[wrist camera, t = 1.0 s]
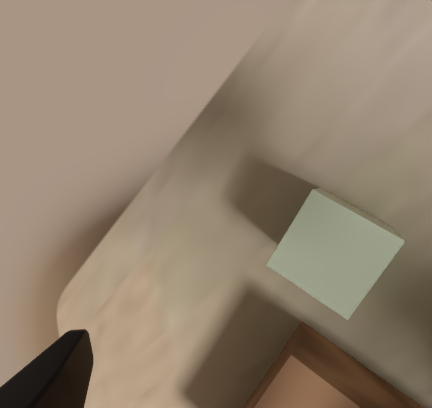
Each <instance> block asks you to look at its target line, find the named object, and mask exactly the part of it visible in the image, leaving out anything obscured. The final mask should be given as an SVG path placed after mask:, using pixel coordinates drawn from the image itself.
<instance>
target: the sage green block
mask: <svg viewBox="0 0 432 408" xmlns="http://www.w3.org/2000/svg"><path fill="white" fill-rule="evenodd" d="M404 243H405V240H404V239H403V238H402V237H401V236H400V235H399V234H398V233H397V231H396V230H395V229H394V228H393V227H391V226H389V225H387V224H385V223H384V222H382V221H380V220H378V219H376V218H374V217H373V216H371V215H369V214H367V213H365V212H364V211H362V210H360V209H358V208H356V207H354V206H353V205H351V204H349V203H347V202H345V201H344V200H342V199H340V198H338V197H336V196H334V195H333V194H331V193H329V192H327V191H325V190H324V189H322V188H317V189H312V191H311V192H310V194H309V196H308V197H307V199H306V201H305V202H304V204H303V206H302V207H301V209H300V211H299V212H298V214H297V215H296V217H295V219H294V220H293V222H292V224H291V225H290V227H289V229H288V230H287V232H286V233H285V235H284V237H283V238H282V240H281V242H280V243H279V245H278V247H277V248H276V250H275V252H274V253H273V255H272V256H271V258H270V260H269V261H268V263H267V266H268V267H269V268H271V269H272V270H274V271H275V272H277V273H278V274H280V275H281V276H283V277H284V278H286V279H287V280H289V281H290V282H292V283H293V284H295V285H296V286H298V287H299V288H301V289H302V290H304V291H305V292H307V293H308V294H309V295H311V296H312V297H314V298H315V299H317V300H318V301H320V302H321V303H323V304H324V305H326V306H327V307H329V308H330V309H332V310H333V311H335V312H336V313H338V314H339V315H341V316H342V317H344V318H345V319H347V320H348V319H349V318H350V316H351V315H352V314H353V312H354V311H355V310H356V308H357V307H358V305H359V304H360V303H361V301H362V300H363V299H364V297H365V296H366V294H367V293H368V292H369V290H370V289H371V288H372V286H373V285H374V284H375V282H376V281H377V279H378V278H379V277H380V275H381V274H382V273H383V271H384V270H385V269H386V267H387V266H388V264H389V263H390V262H391V260H392V259H393V258H394V256H395V255H396V253H397V252H398V251H399V249H400V248H401V247H402V245H403V244H404Z"/></svg>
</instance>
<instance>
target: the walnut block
mask: <svg viewBox="0 0 432 408" xmlns="http://www.w3.org/2000/svg"><path fill="white" fill-rule="evenodd" d="M243 408H422V407H421V406H420V405H418V404H417V403H415V402H414V401H413V400H411V399H410V398H408V397H407V396H406V395H404V394H403V393H401V392H400V391H399V390H397V389H396V388H394V387H393V386H392V385H390V384H389V383H387V382H386V381H385V380H383V379H382V378H380V377H379V376H378V375H376V374H375V373H373V372H372V371H371V370H369V369H368V368H366V367H365V366H363V365H362V364H361V363H359V362H358V361H356V360H355V359H354V358H352V357H351V356H349V355H348V354H347V353H345V352H344V351H342V350H341V349H340V348H338V347H337V346H335V345H334V344H333V343H331V342H330V341H328V340H327V339H326V338H324V337H323V336H321V335H320V334H319V333H317V332H316V331H314V330H313V329H312V328H310V327H309V326H307V325H306V324H305V323H303V322H302V323H301V324H300V326H299V327H298V329H297V330H296V332H295V333H294V335H293V336H292V338H291V339H290V340H289V342H288V343H287V345H286V346H285V348H284V349H283V351H282V352H281V354H280V355H279V356H278V358H277V359H276V361H275V362H274V364H273V365H272V367H271V368H270V370H269V371H268V372H267V374H266V375H265V377H264V378H263V380H262V381H261V383H260V384H259V386H258V387H257V388H256V390H255V391H254V393H253V394H252V396H251V397H250V399H249V400H248V402H247V403H246V404H245V406H244V407H243Z"/></svg>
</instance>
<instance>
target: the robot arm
mask: <svg viewBox="0 0 432 408" xmlns="http://www.w3.org/2000/svg"><path fill="white" fill-rule="evenodd" d="M92 368H93V352H92V347H91V342H90V337H89V333H88V331H87V330H85V329H80V330H70V331H68V332H66V333H65V334H64V335H63V336H61V337H60V338H59V339H58V340H57V341H55V342H54V343H53V344H52V345H51V346H50V347H48V348H47V349H46V350H45V351H43V352H42V353H41V354H40V355H39V356H37V357H36V358H35V359H34V360H33V361H31V362H30V363H29V364H28V365H27V366H25V367H24V368H23V369H22V370H21V371H19V372H18V373H17V374H16V375H15V376H13V377H12V378H11V379H10V380H9V381H7V382H6V383H5V384H4V385H2V386H1V387H0V408H84V404H85V400H86V395H87V391H88V386H89V381H90V377H91V372H92Z"/></svg>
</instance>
